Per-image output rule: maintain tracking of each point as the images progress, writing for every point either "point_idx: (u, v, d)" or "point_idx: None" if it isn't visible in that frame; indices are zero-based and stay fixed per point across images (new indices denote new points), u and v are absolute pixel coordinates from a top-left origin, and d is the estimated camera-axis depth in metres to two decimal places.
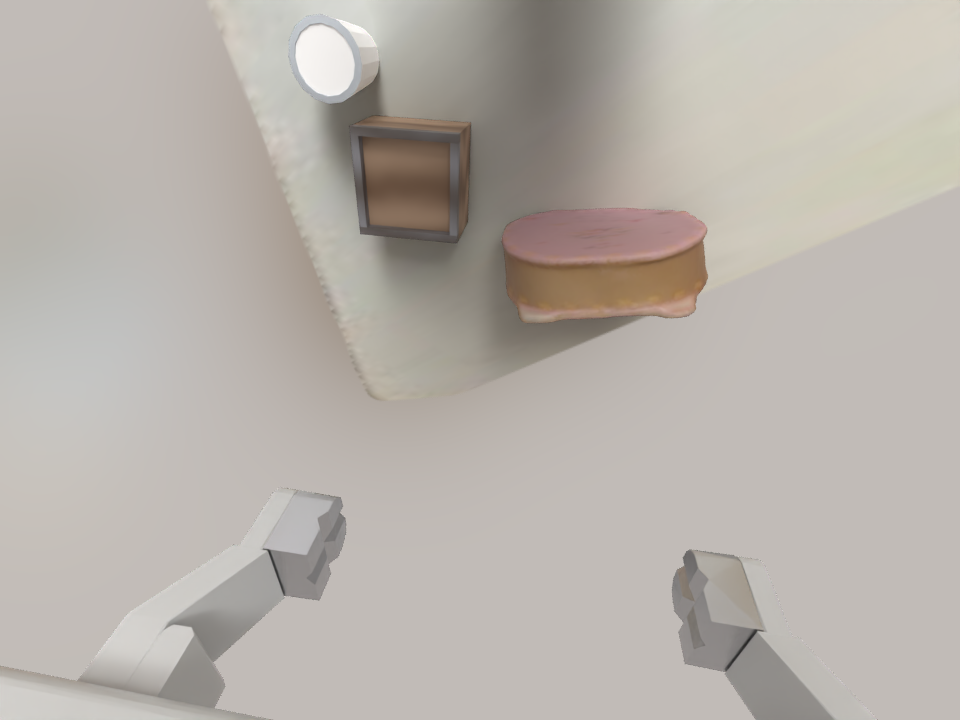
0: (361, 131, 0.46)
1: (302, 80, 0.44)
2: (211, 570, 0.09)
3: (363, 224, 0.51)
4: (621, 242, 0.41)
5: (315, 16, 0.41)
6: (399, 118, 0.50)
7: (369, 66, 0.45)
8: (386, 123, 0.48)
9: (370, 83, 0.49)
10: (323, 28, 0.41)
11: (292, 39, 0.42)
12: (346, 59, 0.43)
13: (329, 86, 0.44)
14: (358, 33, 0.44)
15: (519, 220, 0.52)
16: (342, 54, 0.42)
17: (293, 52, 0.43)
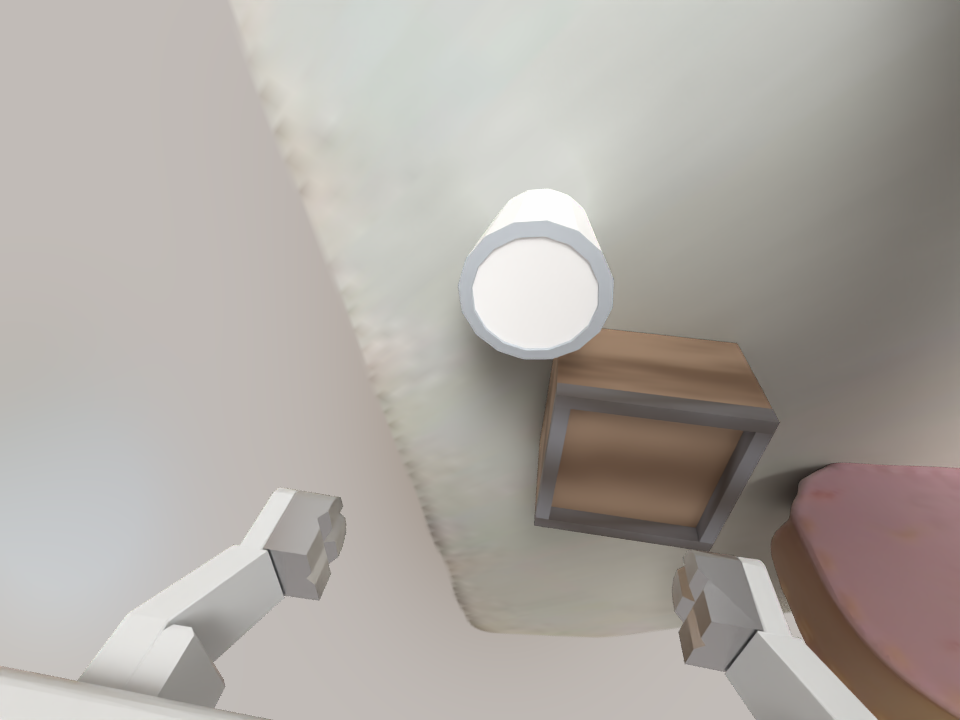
0: (579, 403, 0.24)
1: (479, 322, 0.22)
2: (211, 570, 0.09)
3: (543, 515, 0.29)
4: None
5: (533, 224, 0.19)
6: (610, 335, 0.29)
7: None
8: (608, 367, 0.26)
9: None
10: (545, 245, 0.20)
11: (472, 259, 0.21)
12: (581, 296, 0.21)
13: (533, 334, 0.22)
14: None
15: (809, 502, 0.30)
16: (574, 288, 0.21)
17: (471, 280, 0.21)
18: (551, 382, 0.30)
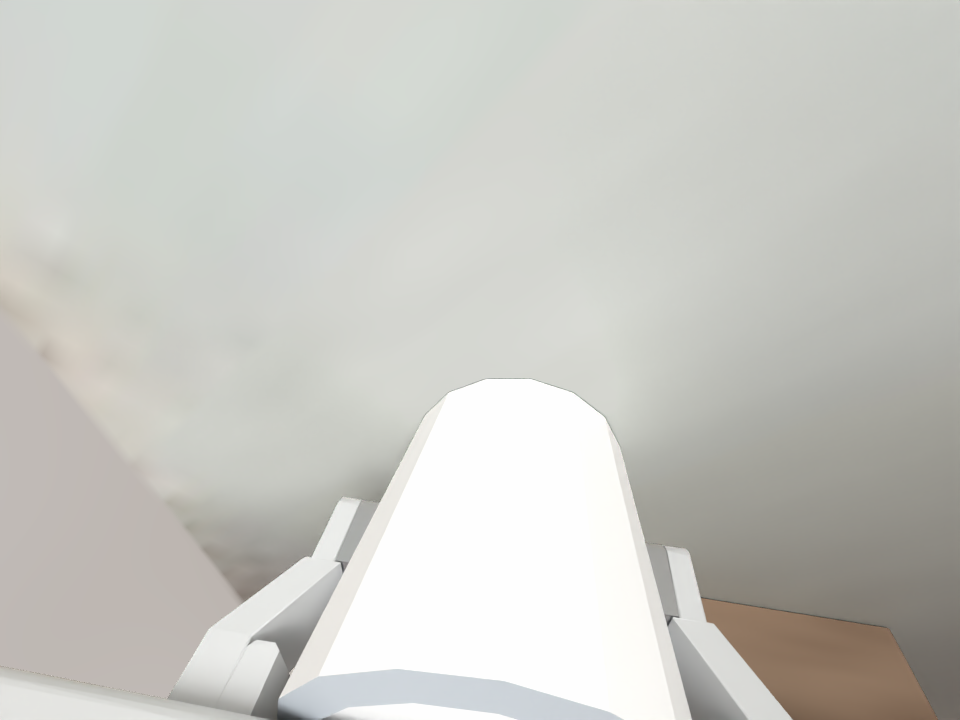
0: None
1: None
2: (287, 583, 0.09)
3: None
4: None
5: (461, 683, 0.06)
6: None
7: None
8: None
9: None
10: (504, 716, 0.06)
11: (296, 701, 0.07)
12: None
13: None
14: (640, 569, 0.08)
15: None
16: None
17: None
18: None
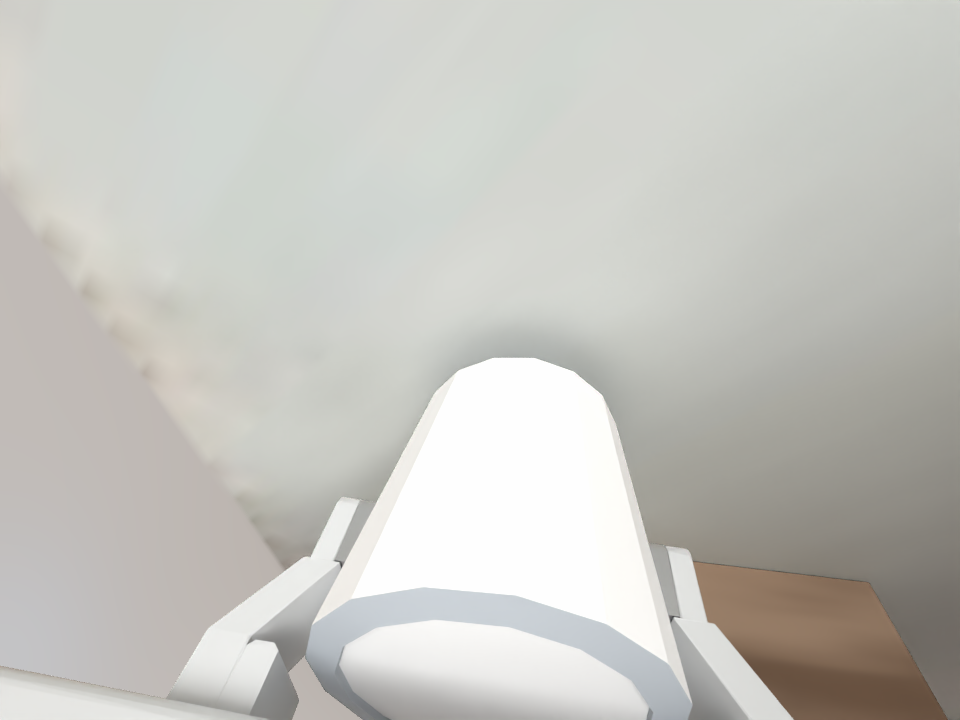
0: None
1: (366, 707, 0.10)
2: (286, 583, 0.09)
3: None
4: None
5: (479, 598, 0.07)
6: None
7: None
8: None
9: None
10: (514, 633, 0.07)
11: (327, 627, 0.08)
12: (603, 713, 0.08)
13: None
14: (633, 521, 0.09)
15: None
16: (588, 701, 0.08)
17: (331, 659, 0.08)
18: None
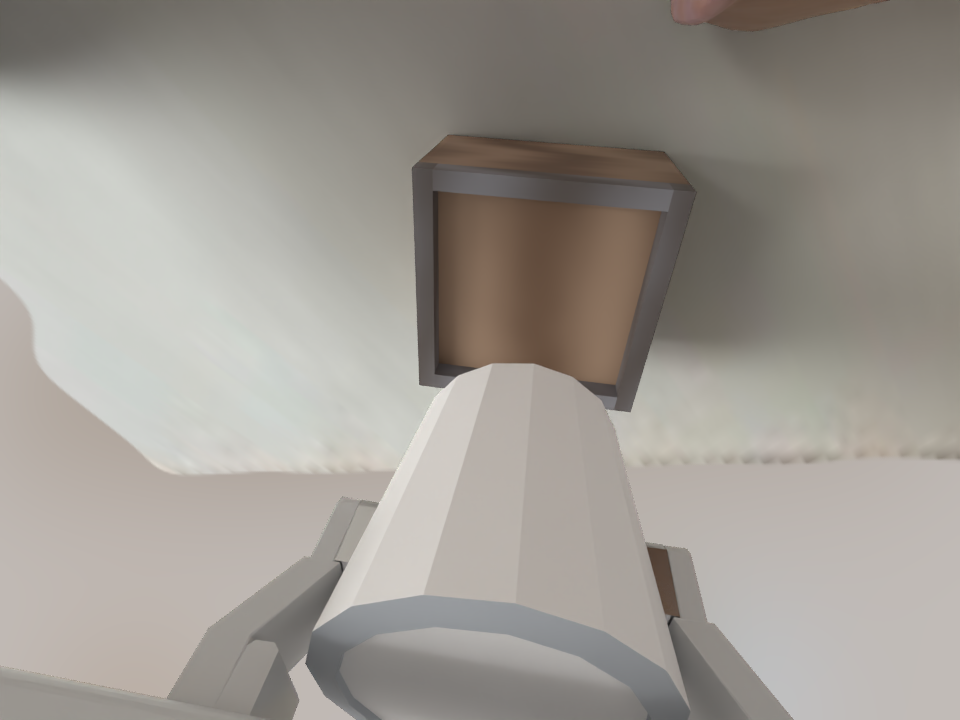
0: (426, 367, 0.24)
1: (366, 712, 0.10)
2: (286, 583, 0.09)
3: (609, 402, 0.23)
4: None
5: (478, 606, 0.07)
6: None
7: None
8: None
9: None
10: (513, 640, 0.07)
11: (327, 633, 0.08)
12: (602, 719, 0.08)
13: None
14: (632, 527, 0.09)
15: None
16: (587, 707, 0.08)
17: (332, 666, 0.09)
18: None
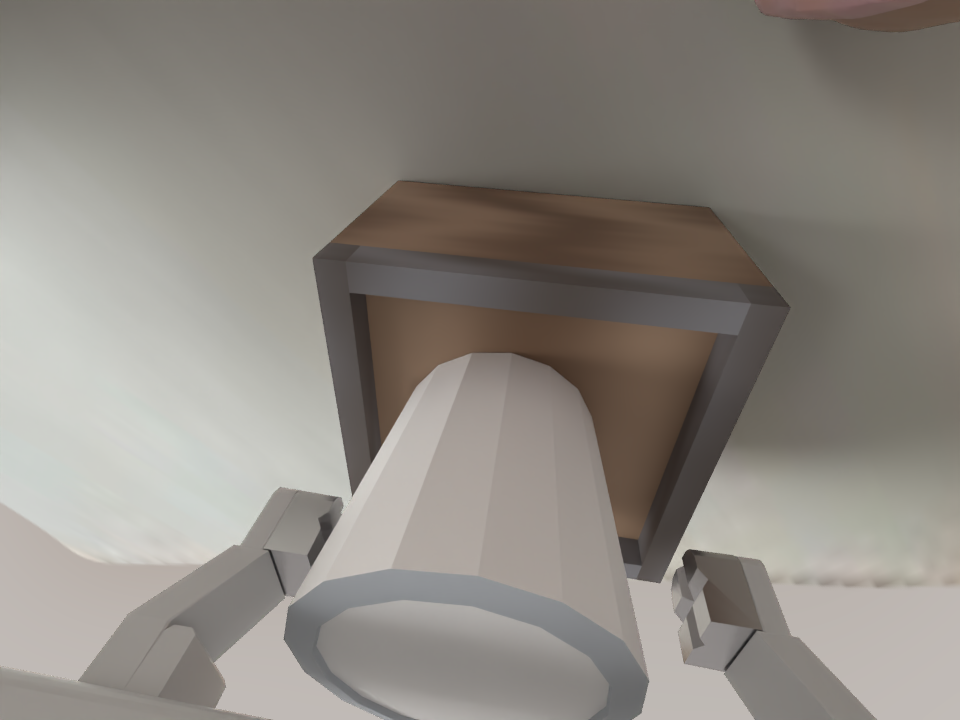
0: None
1: (345, 688, 0.10)
2: (212, 570, 0.09)
3: (630, 570, 0.16)
4: None
5: (443, 579, 0.07)
6: None
7: None
8: None
9: None
10: (478, 612, 0.08)
11: (303, 609, 0.08)
12: (567, 690, 0.09)
13: (462, 716, 0.10)
14: (599, 509, 0.10)
15: None
16: (553, 679, 0.09)
17: (308, 640, 0.09)
18: None
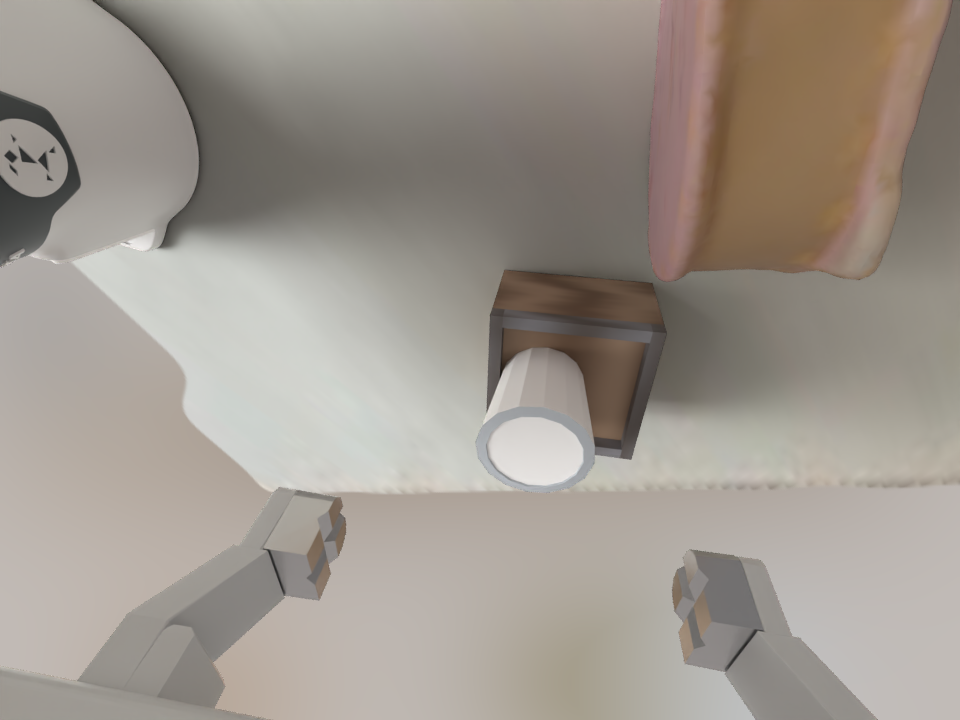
0: None
1: (491, 465, 0.29)
2: (211, 570, 0.09)
3: (616, 452, 0.34)
4: None
5: (533, 409, 0.26)
6: None
7: None
8: None
9: None
10: (542, 421, 0.26)
11: (486, 426, 0.27)
12: (570, 455, 0.27)
13: (533, 476, 0.29)
14: (581, 400, 0.28)
15: (649, 209, 0.28)
16: (565, 449, 0.27)
17: (485, 439, 0.27)
18: None
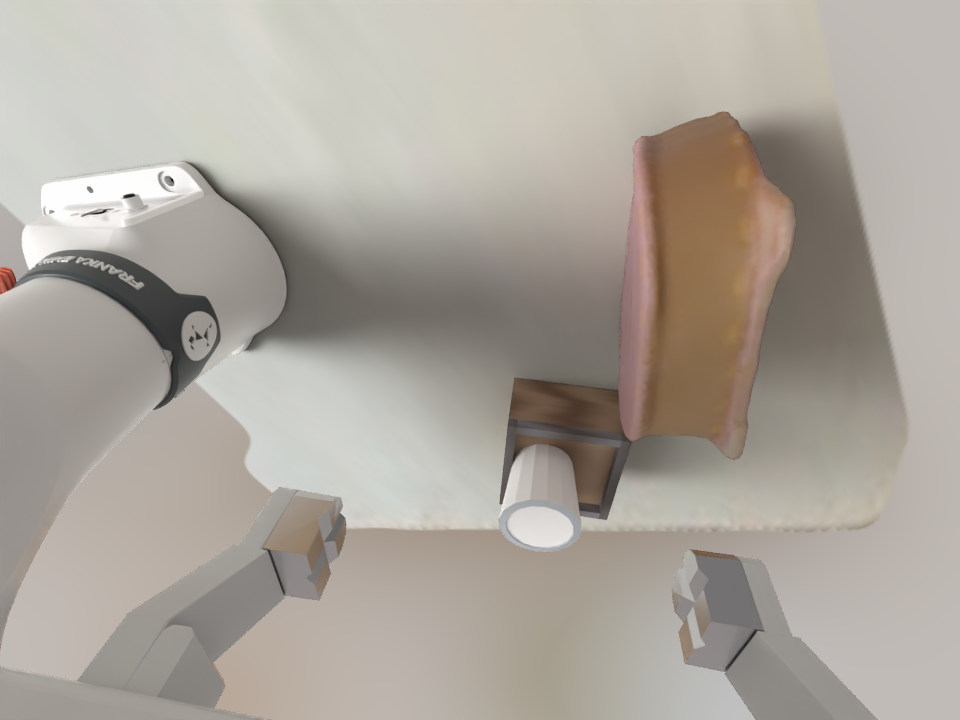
0: None
1: (509, 534, 0.41)
2: (211, 570, 0.09)
3: (596, 515, 0.47)
4: (633, 313, 0.27)
5: (540, 501, 0.38)
6: None
7: None
8: None
9: None
10: (546, 509, 0.38)
11: (507, 510, 0.39)
12: (564, 529, 0.39)
13: (538, 541, 0.41)
14: (572, 489, 0.40)
15: None
16: (560, 526, 0.39)
17: (506, 518, 0.40)
18: None
